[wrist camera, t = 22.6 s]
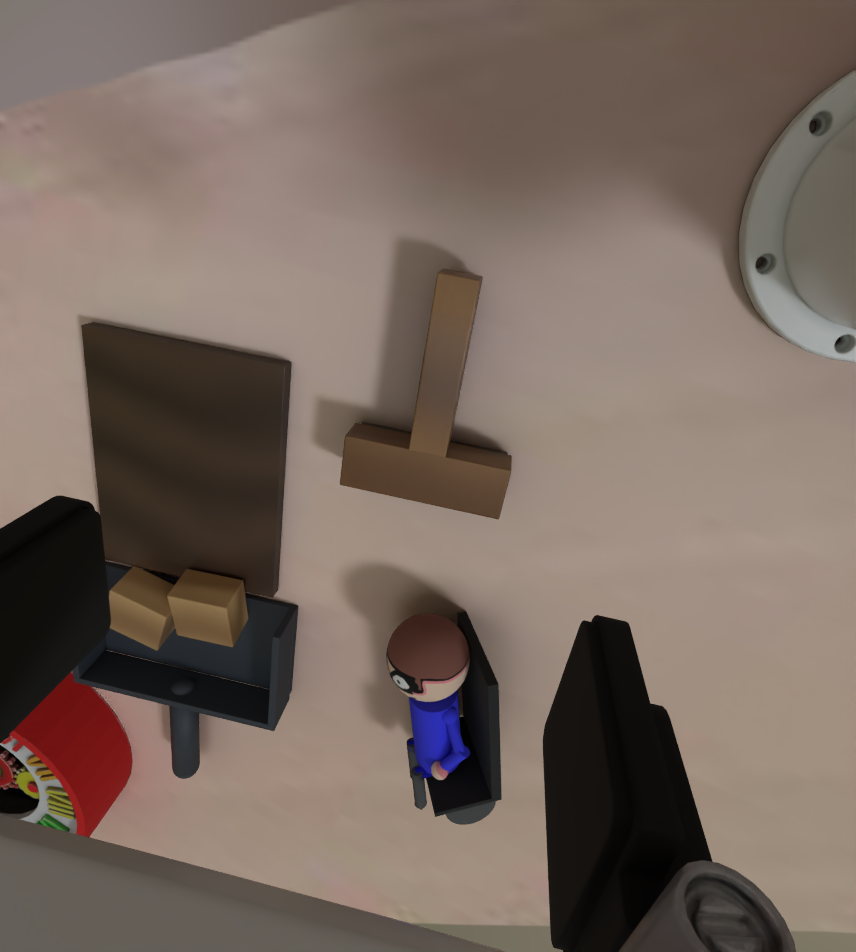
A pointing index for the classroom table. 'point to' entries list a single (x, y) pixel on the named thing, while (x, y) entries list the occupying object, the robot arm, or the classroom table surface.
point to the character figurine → (449, 715)
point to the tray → (188, 454)
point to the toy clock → (65, 761)
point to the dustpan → (189, 693)
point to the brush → (433, 423)
